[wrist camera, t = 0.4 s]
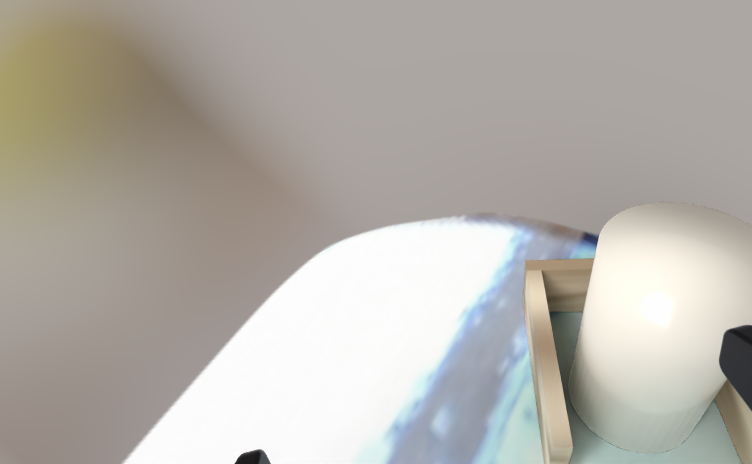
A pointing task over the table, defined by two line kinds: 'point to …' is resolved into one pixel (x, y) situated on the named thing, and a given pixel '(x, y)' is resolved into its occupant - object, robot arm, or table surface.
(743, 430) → the frame
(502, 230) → the table surface
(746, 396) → the robot arm
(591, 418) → the rounded top cylinder
